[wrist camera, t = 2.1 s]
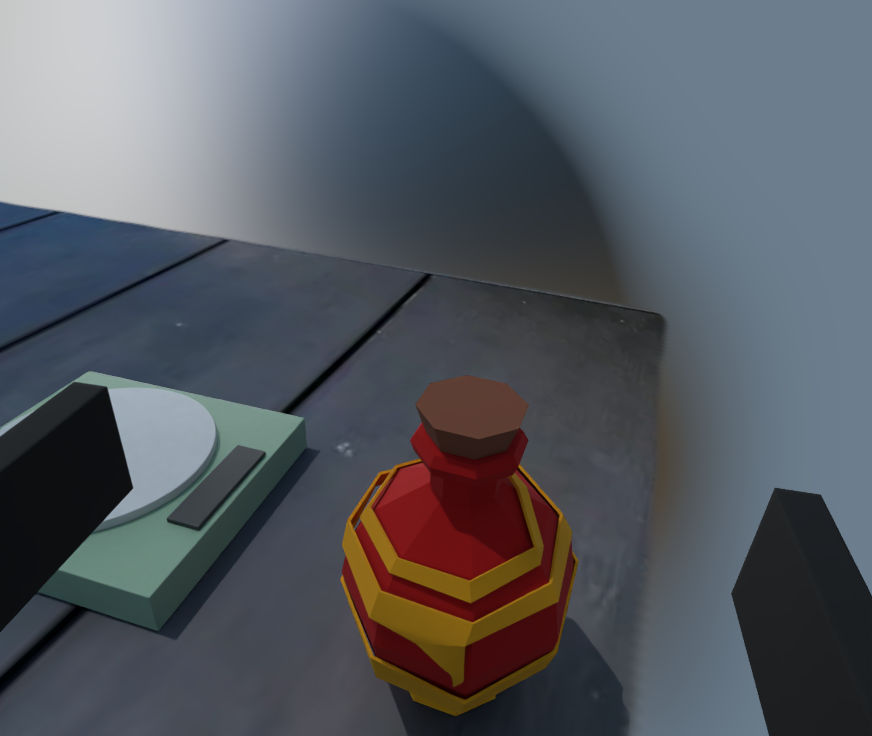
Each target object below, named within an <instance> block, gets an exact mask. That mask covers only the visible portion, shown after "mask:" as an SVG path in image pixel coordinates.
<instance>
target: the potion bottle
mask: <svg viewBox="0 0 872 736" xmlns="http://www.w3.org/2000/svg"><path fill="white" fill-rule="evenodd" d="M415 405H416V407H417V410H418V413H419V415H420V418H421V421H422V423H421V424H420V426H419V427H418V429H417V430H416V432H415V433H414V435H413V436H412V438H411V439H410V441H411V444H412V446H413V449H414V451H415V452H416V454H417V455H418V456H419V458H420V459H417V460H413V461H409V462H406V463H402V464H398V465H396V466H395V467H394V468H393V469H391V470H387V471H382V472H379V474H378V475H377V477H376V478H375V480H374V481H373V483H372V484H371V486H370V487H369V489H368V490H367V492H366V493H365V495H364V496H363V498H362V499H361V501H360V502H359V504H358V505H357V507H356V508H355V509H354V511H353V512H352V514H351V515H350V517H349V518H348V520H347V524H346V529H345V533H344V538H343V543H342V546H343V549H344V551H345V554H346V556H345V560H344V565H343V569H342V574H343V575H342V577H341V582H342V585H343V588H344V591H345V594H346V597H347V599H348V602H349V605H350V608H351V611H352V613H353V616H354V619H355V622H356V624H357V627H358V630H359V632H360V635H361V638H362V640H363V643H364V646H365V649H366V651H367V654H368V657H369V659H370V662H371V665H372V667H373V670H374V673H375V675H376V677H377V678H379V679H382V680H384V681H386V682H389V683H391V684H393V685H395V686H398V687H400V688H402V689H405V690H407V691H409V693H410V695H411V697H412V699H413V701H416V702H418V703H421V704H424V705H426V706H429V707H432V708H434V709H437V710H440V711H443V712H445V713H448V714H451V715H453V716H458V715H460V714H462V713H464V712H466V711H469V710H471V709H473V708H475V707H477V706H480V705H482V704H484V703H486V702H489V701H491V700H493V699H495V698H496V694H498V693H500V692H502V691H504V690H505V689H507V688H509V687H511V686H513V685H515V684H517V683H519V682H520V681H522V680H524V679H526V678H528V677H530V676H532V675H534V674H536V673H537V672H539V671H541V670H543V669H545V668H546V667H547V665H548V664H549V663H550V661H551V660H552V659H553V658H554V656H555V655H556V654H557V651H558V647H559V643H560V638H561V634H562V630H563V626H564V621H565V617H566V613H567V609H568V604H569V600H570V596H571V592H572V587H573V583H574V579H575V575H576V570H577V566H578V562H579V561H578V559H577V558H576V556H575V555H574V553H573V551H572V542H571V537H572V531H571V529H570V527H569V525H568V523H567V521H566V519H565V517H564V515H563V513H562V512H561V511H560V510H559V509H558V508H557V506H556V505H555V504H554V503H553V502H552V501H551V500H550V498H549V497H548V496H547V495H546V494H545V493H544V492H543V490H542V489H541V488H540V487H539V486H538V485H537V484H536V482H535V481H534V480H533V479H532V478H531V477H530V476H529V474H528V473H527V472H526V471H525V470H524V469H523V468H522V466H521V465H520V461H521V458H522V456H523V453H524V450H525V448H526V445H527V443H528V439H527V437H526V435H525V433H524V432H523V431H522V430H521V429H520V425H521V423H522V420H523V418H524V416H525V413H526V411H527V408H528V406H529V405H528V404H527V403H526V402H525V401H524V400H523V399H522V398H521V397H520V396H519V395H518V394H517V393H516V392H515V391H514V390H513V389H512V388H511V387H510V386H508V385H507V384H506V383H501V382H497V381H492V380H487V379H483V378H478V377H473V376H468V375H466V376H461V377H457V378H452V379H447V380H443V381H438V382H433V383H430V384H429V386H428V387H427V389H426V390H425V392H424V393H423V394H422V396H421V397H420V399H419V400H418V401H417V403H416V404H415ZM378 485H381V486H380V488H379V489H378V491H377V492H376V494H375V495H374V497H373V498H372V500H371V501H370V503H369V504H368V505H367V507H366V508H365V506H366V504H367V502H368V500H369V498H370V496H371V494H372V492H373V490H374V488H375V486H378ZM364 508H365V510H364ZM363 510H364V511H363ZM362 512H363V513H362ZM359 517H360V519H361V522H360V524H359V525H358V527H357V528H356V530H354V527H355V525H356V523H357V521H358V519H359ZM358 617H359V618H358ZM359 619H360V620H359ZM360 621H361V623H360ZM361 624H362V625H361ZM362 626H363V628H364V631H365V633H366V635H367V638H368V640H369V642H370V645H371V647H372V649H373V652H374V654H375V656H376V657H375V656H373V654H372V651H371V649H370V646H369V644H368V641H367V638H366V636H365V633H364V631H363V628H362Z"/></svg>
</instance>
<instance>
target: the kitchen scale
mask: <svg viewBox="0 0 872 736" xmlns="http://www.w3.org/2000/svg"><path fill="white" fill-rule="evenodd" d="M73 382H80V383H87V384H94V385H100V386H107V388H108V392H109V395H110V399H111V403H112V407H113V411H114V415H115V419H116V423H117V426H118V430H119V434H120V438H121V442H122V446H123V450H124V454H125V457H126V461H127V465H128V469H129V473H130V477H131V481H132V484H133V489H132V490H131V491H130V493H129V494H128V495H127V496H126V497H125V498H124V499H123V500H122V501H121V502H120V503H119V504H118V506H117V507H116V508H115V509H114V510H113V511H112V512H111V513H110V514H109V515H108V516H107V517H106V518H105V520H104V521H103V522H102V523H101V524H100V525H99V526H98V527H97V528H96V529H95V530H94V531H93V533H92V534H91V535H90V536H89V537H88V538H87V539H86V540H85V541H84V542H83V543H82V544H81V545H80V547H79V548H78V549H77V550H76V551H75V552H74V553H73V554H72V555H71V556H70V557H69V558H68V560H67V561H66V562H65V563H64V564H63V565H62V566H61V567H60V568H59V569H58V570H57V571H56V572H55V574H54V575H53V576H52V577H51V578H50V579H49V580H48V581H47V582H46V583H45V584H44V585H43V587H42V588H41V589H40V590H39V591H38V592H39V593H42V594H45V595H48V596H51V597H54V598H57V599H60V600H64V601H67V602H70V603H73V604H76V605H79V606H82V607H85V608H88V609H91V610H94V611H97V612H100V613H103V614H107V615H110V616H113V617H116V618H119V619H122V620H125V621H128V622H131V623H134V624H137V625H140V626H143V627H146V628H150V629H153V630H156V631H159V630H160V629H161V628H162V626H163V625H164V624H165V623H166V622H167V620H168V619H169V618H170V617H171V615H172V614H173V613H174V612H175V610H176V609H177V608H178V607H179V605H180V604H181V603H182V602H183V600H184V599H185V598H186V597H187V595H188V594H189V593H190V592H191V590H192V589H193V588H194V587H195V585H196V584H197V583H198V582H199V580H200V579H201V578H202V577H203V575H204V574H205V573H206V572H207V570H208V569H209V568H210V567H211V565H212V564H213V563H214V562H215V560H216V559H217V558H218V557H219V555H220V554H221V553H222V552H223V551H224V549H225V548H226V547H227V546H228V544H229V543H230V542H231V541H232V539H233V538H234V537H235V536H236V534H237V533H238V532H239V531H240V529H241V528H242V527H243V526H244V524H245V523H246V522H247V521H248V519H249V518H250V517H251V516H252V514H253V513H254V512H255V511H256V509H257V508H258V507H259V506H260V504H261V503H262V502H263V501H264V499H265V498H266V497H267V496H268V494H269V493H270V492H271V491H272V489H273V488H274V487H275V486H276V484H277V483H278V482H279V481H280V480H281V478H282V477H283V476H284V475H285V473H286V472H287V471H288V470H289V468H290V467H291V466H292V465H293V463H294V462H295V461H296V460H297V458H298V457H299V456H300V455H301V453H302V452H303V451H304V450H305V448H306V447H307V442H306V430H305V419H304V418H301V417H297V416H292V415H288V414H283V413H279V412H274V411H269V410H265V409H260V408H256V407H251V406H247V405H242V404H237V403H233V402H228V401H224V400H219V399H215V398H210V397H205V396H201V395H196V394H192V393H187V392H183V391H178V390H173V389H169V388H164V387H160V386H155V385H151V384H146V383H141V382H137V381H132V380H128V379H123V378H119V377H114V376H109V375H105V374H100V373H96V372H91V371H89V372H87V373H86V374H84V375H82V376H81V377H79V378H78V379H76V380H75V381H73ZM73 382H71V383H73ZM71 383H70V384H71ZM70 384H68V385H67V386H69V385H70ZM67 386H65V387H63V388H62V389H60V390H59V391H57V392H56V393H54V394H52V395H51V396H49V397H48V398H46V399H45V400H43V401H41V402H40V403H38V404H37V405H35V406H34V407H32V408H30V409H29V410H27V411H26V412H24V413H22V414H21V415H19V416H18V417H16V418H15V419H13V420H11V421H10V422H8V423H7V424H5V425H4V426H2V427H0V436H1V435H3V434H4V433H5V432H7V431H8V430H9V429H11V428H12V427H13V426H15V425H16V424H17V423H19V422H20V421H21V420H23V419H24V418H26V417H27V416H28V415H30V414H31V413H32V412H34V411H35V410H36V409H38V408H39V407H40V406H42V405H43V404H44V403H46V402H47V401H48V400H50V399H51V398H53V397H54V396H55V395H57V394H58V393H59V392H61V391H62V390H63V389H65V388H66V387H67Z"/></svg>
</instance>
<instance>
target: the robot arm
mask: <svg viewBox="0 0 872 736" xmlns="http://www.w3.org/2000/svg"><path fill="white" fill-rule="evenodd" d="M132 489H133V484H132V481H131V477H130V473H129V469H128V465H127V461H126V457H125V454H124V450H123V446H122V442H121V438H120V434H119V430H118V426H117V423H116V419H115V415H114V411H113V407H112V403H111V399H110V395H109V392H108V388H107V386H100V385H94V384H87V383H80V382H73V383H71V384H70V385H69V386H67V387H66V388H65V389H63V390H62V391H61V392H59V393H58V394H57V395H55V396H54V397H53V398H51V399H50V400H48V401H47V402H46V403H44V404H43V405H42V406H40V407H39V408H38V409H36V410H35V411H34V412H32V413H31V414H30V415H28V416H27V417H26V418H24V419H23V420H21V421H20V422H19V423H17V424H16V425H15V426H13V427H12V428H11V429H9V430H8V431H7V432H5V433H4V434H3V435H1V436H0V632H1V631H2V630H3V629H4V628H5V626H6V625H7V624H8V623H9V622H10V621H11V620H12V619H13V618H14V617H15V616H16V615H17V614H18V612H19V611H20V610H21V609H22V608H23V607H24V606H25V605H26V604H27V603H28V602H29V601H30V599H31V598H32V597H33V596H34V595H35V594H36V593H37V592H38V591H39V590H40V589H41V588H42V587H43V585H44V584H45V583H46V582H47V581H48V580H49V579H50V578H51V577H52V576H53V575H54V574H55V572H56V571H57V570H58V569H59V568H60V567H61V566H62V565H63V564H64V563H65V562H66V561H67V560H68V558H69V557H70V556H71V555H72V554H73V553H74V552H75V551H76V550H77V549H78V548H79V547H80V545H81V544H82V543H83V542H84V541H85V540H86V539H87V538H88V537H89V536H90V535H91V534H92V533H93V531H94V530H95V529H96V528H97V527H98V526H99V525H100V524H101V523H102V522H103V521H104V520H105V518H106V517H107V516H108V515H109V514H110V513H111V512H112V511H113V510H114V509H115V508H116V507H117V506H118V504H119V503H120V502H121V501H122V500H123V499H124V498H125V497H126V496H127V495H128V494H129V493H130V491H131V490H132ZM731 594H732V598H733V601H734V605H735V609H736V613H737V616H738V620H739V624H740V628H741V631H742V635H743V639H744V643H745V646H746V650H747V654H748V658H749V662H750V665H751V669H752V672H753V677H754V680H755V684H756V688H757V692H758V695H759V699H760V703H761V707H762V710H763V714H764V718H765V722H766V725H767V729H768V733H769V736H872V595H871V593H870V592H869V589H868V587H867V585H866V583H865V581H864V579H863V577H862V575H861V574H860V571H859V569H858V567H857V566H856V564H855V562H854V560H853V558H852V556H851V554H850V552H849V550H848V548H847V546H846V544H845V542H844V540H843V538H842V536H841V534H840V532H839V530H838V528H837V526H836V524H835V522H834V520H833V518H832V516H831V514H830V512H829V510H828V508H827V506H826V504H825V502H824V500H823V498H822V496H821V495H819V494H812V493H806V492H799V491H793V490H786V489H779V488H775V489H774V491H773V493H772V496H771V498H770V501H769V503H768V506H767V509H766V511H765V513H764V516H763V518H762V520H761V523H760V525H759V528H758V530H757V533H756V535H755V537H754V540H753V542H752V545H751V547H750V549H749V552H748V555H747V557H746V559H745V562H744V564H743V567H742V569H741V571H740V574H739V576H738V579H737V581H736V584H735V586H734V588H733V591H732V593H731Z"/></svg>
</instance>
